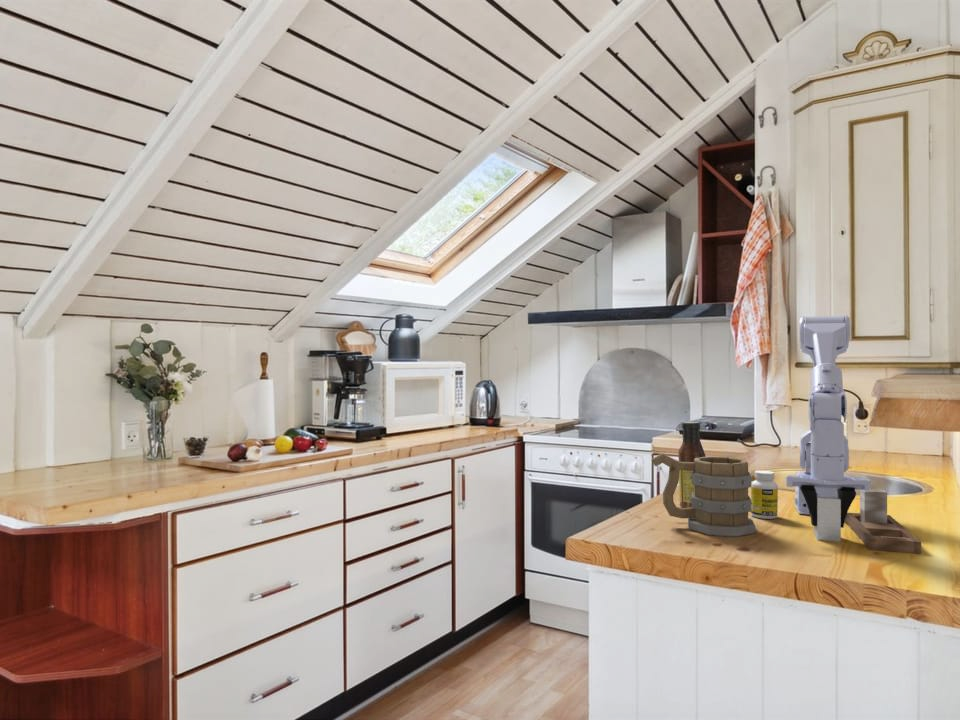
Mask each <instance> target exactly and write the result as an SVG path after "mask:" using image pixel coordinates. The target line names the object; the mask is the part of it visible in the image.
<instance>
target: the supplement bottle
mask: <svg viewBox="0 0 960 720" xmlns="http://www.w3.org/2000/svg"><path fill="white" fill-rule="evenodd" d="M754 478H755V480H752V481H751V487H750V499H751V502H752V504H751V512H750V514H751V517H754V518H756V519H762V520H772V519H774V520H775V519H776V518H777V517H778V508H779V507H778V505H779V504H778V497H779V496H778V495H779V487H778V484H777V482H775V481H774V480H775V472H774V471H771V470H755V471H754Z"/></svg>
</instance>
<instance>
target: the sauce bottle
mask: <svg viewBox="0 0 960 720" xmlns="http://www.w3.org/2000/svg"><path fill="white" fill-rule="evenodd" d="M681 428H682V437H683V438H682V443H681V445H680V447H679V449H678V461H680V462H694V459H695V458H699V457H707V456H706V453H705V451H704V447H703V445H702V442H701V436H700V434H701V433H700V430H701V423H700V422H699V421H683V422H681ZM691 475H692V471H687V470H680V472H679V482H678V499H679V500H678V501H679V508H691V507H692V502H691V501H690V499H691V498H692V493H693V492H694V485H693V484H692V479H691V478H690V476H691Z"/></svg>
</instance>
